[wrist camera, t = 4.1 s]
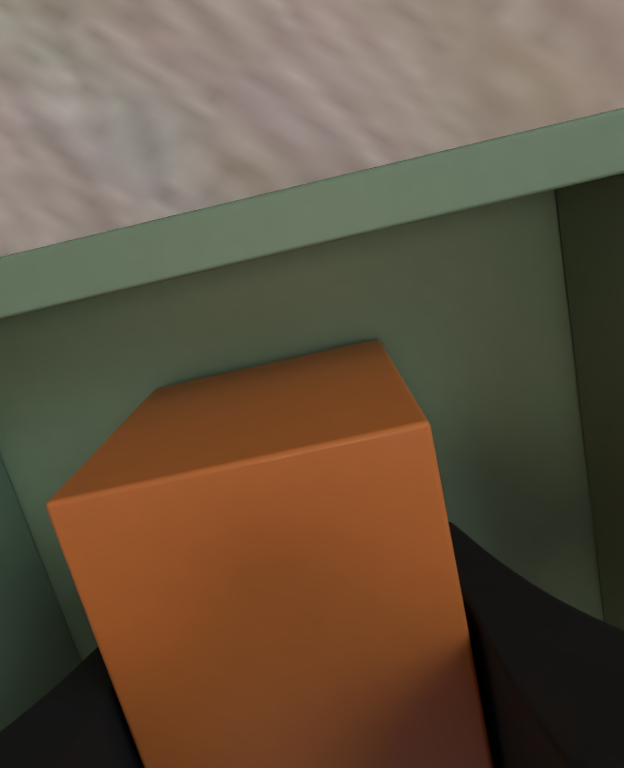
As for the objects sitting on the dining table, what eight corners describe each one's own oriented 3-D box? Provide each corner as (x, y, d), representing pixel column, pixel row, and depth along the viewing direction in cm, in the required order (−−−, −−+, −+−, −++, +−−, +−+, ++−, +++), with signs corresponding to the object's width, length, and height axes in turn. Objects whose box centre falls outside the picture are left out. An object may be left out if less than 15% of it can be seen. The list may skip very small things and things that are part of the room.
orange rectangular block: (454, 713, 14) (534, 982, 9) (265, 748, 14) (240, 1029, 9) (379, 337, 11) (431, 420, 6) (154, 388, 12) (41, 504, 7)
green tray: (644, 740, 15) (754, 910, 11) (126, 834, 16) (69, 1022, 12) (584, 130, 11) (720, 83, 7) (-93, 292, 12) (-274, 322, 8)
